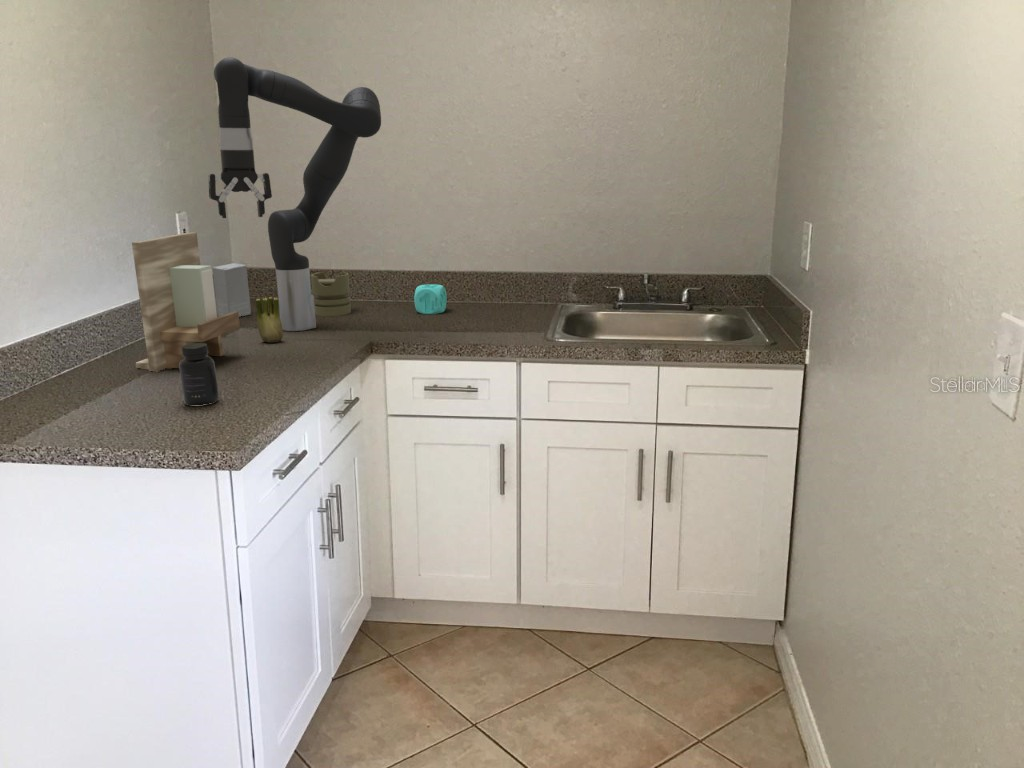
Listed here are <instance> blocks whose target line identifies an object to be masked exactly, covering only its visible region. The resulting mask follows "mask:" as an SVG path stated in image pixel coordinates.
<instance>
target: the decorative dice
mask: <svg viewBox="0 0 1024 768" xmlns="http://www.w3.org/2000/svg"><path fill="white" fill-rule="evenodd" d="M447 297H448V296H447V291H446V288H445V287H444V286H443V285H442V284H435V283H434V284H433V283H430V284H420V285H417V287H416V288H415V291H414V298H413V299H414V300H413V301H414V307H415V310H416V312H418V313H419V314H422V315H437V314H443V313H444V312H445V311H446V308H447V301H448V300H447Z"/></svg>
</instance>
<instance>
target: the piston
mask: <svg viewBox="0 0 1024 768" xmlns="http://www.w3.org/2000/svg"><path fill="white" fill-rule="evenodd" d="M310 281H311V293H312V294H313V296H314V308H315V316H318V315H319V317H337V316H344V315H345V316H346V315H349V314H351V313H352V305H351V304H352V303H351V296H350V294H349V293H350V291H351V290H350V289H351V288H350V277H349V272H345V271H341V275H337V276H335V278H328V277H327V276H326V274H325V272H324V271H322V272H317V273H312V274H310Z"/></svg>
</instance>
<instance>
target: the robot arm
mask: <svg viewBox="0 0 1024 768" xmlns="http://www.w3.org/2000/svg"><path fill="white" fill-rule="evenodd" d="M213 76H214V80H215V83H216V84H217V94H218V109H217V110H218V112H217V113H218V125H219V138H218V141H219V151H220V162H221V173H220V174H219V173H218V174H216V173H212V172H210V173H209V174H208V198H209V199H211V200H213V201H216V202H217V209H218V214H219V216H220V217H221V218H222V219H226V218H227V211H226V202H225V200H226V198H227V197H228V195H229V194H230V193H231V192H233V193H239V192H245V193H248V192H249V191H250V192H251V193H252V194H253V195H254V197H255V198H256V199H257V200H256V204H257V205H256V206H257V216H258V217H259V218H263V216H264V215H265V214H266V209H265V201H266V200H268V199H271V198H272V197H273V194H272V185H271V178H270V174H269V173H267V172H262V173H257V171H256V167H255V166H256V164H255V155H254V153H255V152H254V141H253V134H252V129H251V117H250V108H249V96H250V97H254V98H257V99H260V100H263V101H266V102H269V103H272V104H275V105H278V106H282V107H284V108H289V109H292V110H294V111H296V112H300V113H303V114H306V115H308V116H310V117H313V118H315V119H316V120H317V119H318V120H320V121H322V122H324V123H326V124H328V125H331V126H330V128H329V130H328V131H327V133H326V134H325V136H324V137H323V139H322V141H321V142H320V143H319V146H318V148H317V149H316V151H315V152H314V154H313V155H312V157H311V158H310V160H309V162H308V164H307V166H305V169H304V172H303V175H302V176H303V178H302V182H303V190H304V194H303V196H302V199H301V201H299V203H298V205H296V207H295V208H292V209H282V210H275V211H273V212H272V213H270V215H269V217H268V221H267V231H268V240H269V245H270V251H271V257H272V261H273V262H274V267H275V268H274V269H275V277H276V287H277V297H278V298H277V299H279V314H280V319H281V322H282V327H283V331H285V332H298V331H306V330H311V329H316V328H317V323H316V315H315V308H314V297H315V295H314V294H313V293H312V282H311V274H310V273H311V271H310V260H309V258H308V257H307V256H305V255H304V254H303V255H302V254H299V253H298V252H297V251H296V248H295V245H294V244H299V243H302V242H305V241H306V240H308V239H309V238H310V237H311V235H312V233H313V232H314V230H315V228H316V225H317V223H318V222H319V219H320V217H321V215H322V212H323V211H324V209H325V207H326V205H328V203H329V200H330V198H331V197H332V195H333V193H334V192H335V190H336V189H337V188H338V186H339V184H340V183H341V181H342V180H343V178H344V176H345V174H346V172H347V170H348V168H349V165H350V162H351V160H352V156H353V153H354V149H355V145H356V143H357V141H358V139H359V138H364V139H365V138H369V137H370V138H371V137H373V136H375V135H376V134H377V133H378V132H379V131H380V128H381V127H382V114H381V106H380V101H379V97H378V96H377V95H376V93H375V92H374V91H373V90H372V89H370V88H368V87H364V86H359V87H355V88H353V89H352V90H350V91H348V93H346V95H345V96H344V98H343V99H342V102H339V101H336V100H334V99H331V98H329V97H327V96H325V95H323V94H322V93H320V92H318V91H317V90H315V89H314V88H312V87H311V86H309V85H308V84H307V83H306V82H305V83H304V82H303V81H302V80H299V79H298V78H295V77H292V76H291V75H287V74H283V73H280V72H277V71H274V70H269V69H263V68H261V69H260V68H257V67H255V66H251V65H249V64H245V63H243V62H242V61H241V60H240V59H237V58H235V57H232V56H231V57H225V58H222V59H220V60H219V61H218V62H217V63H216V65H215V67H214V70H213ZM258 179H259V181H260V182H261V183H262V185H263V191H264V193H263V194H262V193H261V192H260V190H259V189H258V188H257V187H256V186H255V184H256V183H257V180H258ZM220 180H221V181H222V182H223V183H224V187H223V188H222V190H221V191H220V193H219V195H217V193H216V192H217V191H216V190H217V189H216V184H218V183H219V181H220Z"/></svg>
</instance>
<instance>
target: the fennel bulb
mask: <svg viewBox="0 0 1024 768" xmlns="http://www.w3.org/2000/svg"><path fill="white" fill-rule="evenodd" d="M261 300H262V301H261ZM255 305H256V315H257V319H256V320H257V329H258V334H259V336H260V338H261V340H262V342H264V343H269V344H275V343H278V342H280V341H282V339H283V338H284V337H283V336H284V330H283V327H282V322H281V319H280V311H279V299H278V298H277V297H274V298H273V297H272V296H271V297H270V296H269V297H268V298H262V299H261V298H256V299H255Z"/></svg>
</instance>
